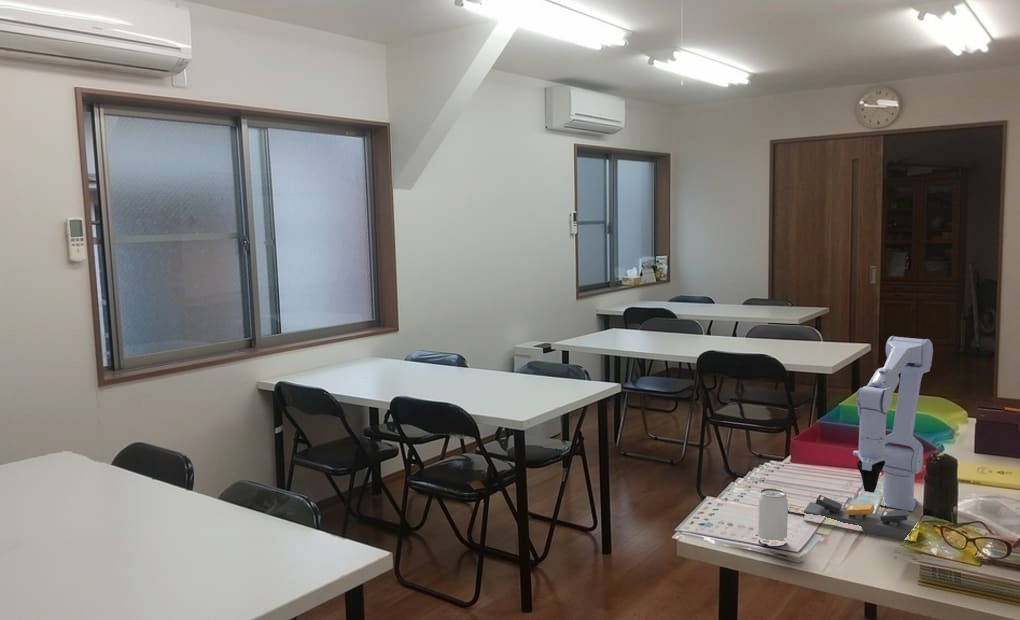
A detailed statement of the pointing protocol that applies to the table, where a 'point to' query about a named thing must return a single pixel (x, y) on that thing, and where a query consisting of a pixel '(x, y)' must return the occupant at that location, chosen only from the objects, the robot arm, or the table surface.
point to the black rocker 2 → (894, 515)
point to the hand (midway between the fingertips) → (869, 490)
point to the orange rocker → (860, 509)
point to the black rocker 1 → (828, 504)
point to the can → (772, 514)
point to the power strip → (866, 522)
